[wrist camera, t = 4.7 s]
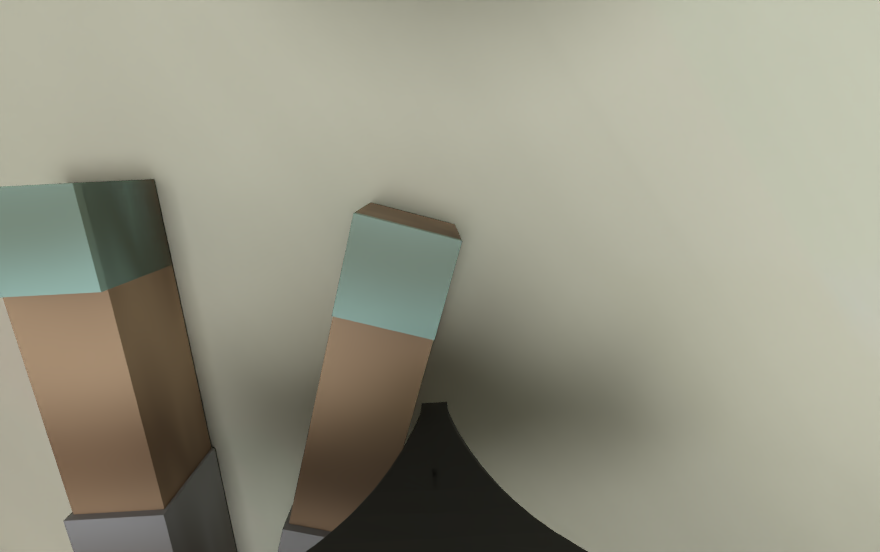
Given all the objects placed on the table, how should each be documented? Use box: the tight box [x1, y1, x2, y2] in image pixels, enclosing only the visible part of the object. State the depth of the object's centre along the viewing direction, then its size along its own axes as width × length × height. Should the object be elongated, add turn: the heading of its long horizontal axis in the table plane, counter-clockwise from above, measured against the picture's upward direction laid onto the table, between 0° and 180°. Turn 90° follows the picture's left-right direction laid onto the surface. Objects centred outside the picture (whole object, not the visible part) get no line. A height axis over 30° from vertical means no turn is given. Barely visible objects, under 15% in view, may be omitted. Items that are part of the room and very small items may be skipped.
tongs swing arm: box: [278, 203, 462, 552], centre depth 12 cm, size 15×3×3 cm, turn 165°
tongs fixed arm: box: [0, 179, 237, 552], centre depth 12 cm, size 19×4×4 cm, turn 3°
